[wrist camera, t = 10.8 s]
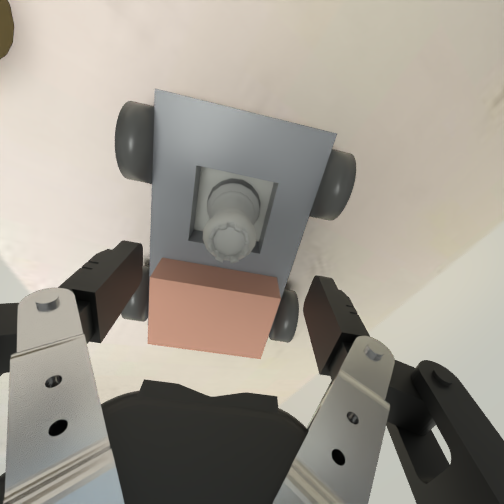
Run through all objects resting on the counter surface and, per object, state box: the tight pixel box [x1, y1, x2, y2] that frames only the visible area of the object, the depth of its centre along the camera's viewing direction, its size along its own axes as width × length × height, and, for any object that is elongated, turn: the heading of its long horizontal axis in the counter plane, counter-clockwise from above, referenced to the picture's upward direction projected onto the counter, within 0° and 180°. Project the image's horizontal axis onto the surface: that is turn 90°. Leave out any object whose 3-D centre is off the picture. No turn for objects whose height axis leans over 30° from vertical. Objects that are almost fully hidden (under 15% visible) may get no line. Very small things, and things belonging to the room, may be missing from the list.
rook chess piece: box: [203, 178, 260, 264], centre depth 18 cm, size 4×4×8 cm
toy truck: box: [115, 89, 356, 359], centre depth 21 cm, size 15×20×6 cm
